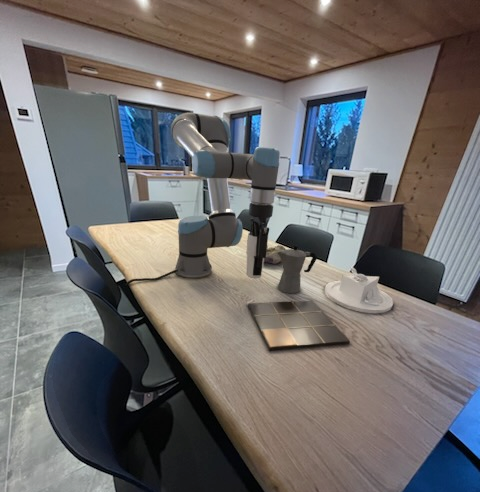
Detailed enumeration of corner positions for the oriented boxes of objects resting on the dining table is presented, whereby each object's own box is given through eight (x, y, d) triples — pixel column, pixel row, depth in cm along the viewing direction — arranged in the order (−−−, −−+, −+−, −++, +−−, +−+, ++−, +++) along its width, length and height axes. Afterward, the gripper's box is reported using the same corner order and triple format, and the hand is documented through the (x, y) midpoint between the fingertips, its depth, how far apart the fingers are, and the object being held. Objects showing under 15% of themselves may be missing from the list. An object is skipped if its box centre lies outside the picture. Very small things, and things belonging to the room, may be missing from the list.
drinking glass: (250, 281, 90) (254, 237, 83) (240, 273, 95) (244, 232, 88) (266, 278, 93) (272, 236, 86) (257, 271, 98) (261, 231, 91)
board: (269, 350, 70) (270, 347, 70) (248, 305, 91) (248, 302, 91) (349, 343, 75) (350, 340, 75) (311, 302, 96) (312, 299, 96)
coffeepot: (274, 293, 102) (280, 248, 94) (271, 282, 110) (276, 240, 102) (313, 294, 102) (323, 250, 95) (307, 284, 111) (315, 242, 103)
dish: (358, 318, 89) (367, 288, 84) (312, 286, 109) (317, 261, 104) (407, 307, 98) (418, 279, 93) (356, 280, 119) (363, 256, 114)
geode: (253, 270, 134) (280, 273, 126) (248, 255, 129) (276, 257, 121) (267, 251, 144) (292, 253, 136) (263, 236, 139) (290, 237, 131)
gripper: (283, 209, 75) (272, 282, 85) (264, 199, 92) (257, 261, 102) (258, 208, 73) (250, 283, 84) (243, 198, 90) (238, 261, 100)
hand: (254, 271), depth 93 cm, fingers closed on drinking glass, 6 cm apart
